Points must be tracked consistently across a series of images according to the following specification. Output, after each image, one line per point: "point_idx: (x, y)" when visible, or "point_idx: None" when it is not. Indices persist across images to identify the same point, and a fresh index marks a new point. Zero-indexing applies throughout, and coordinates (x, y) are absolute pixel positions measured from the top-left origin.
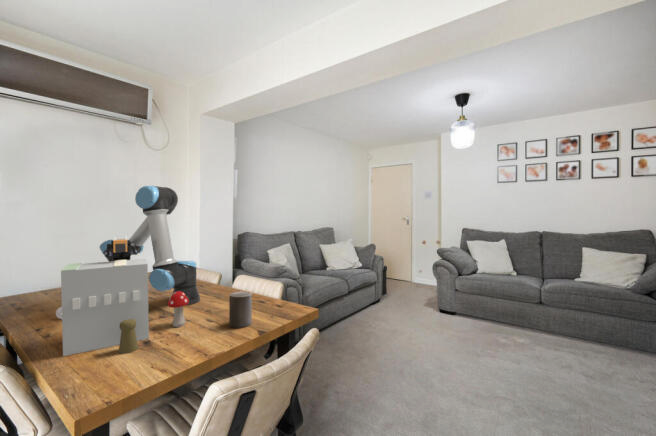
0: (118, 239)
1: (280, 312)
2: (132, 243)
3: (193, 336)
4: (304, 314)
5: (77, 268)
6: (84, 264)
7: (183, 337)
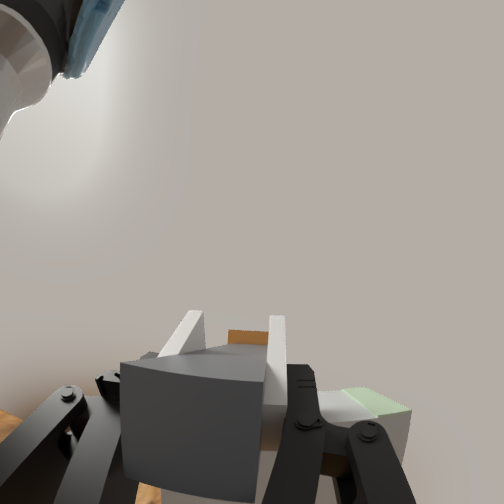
0: (234, 372)
1: (5, 430)
2: (89, 398)
3: (139, 486)
4: (11, 416)
5: (347, 395)
6: (359, 412)
7: (152, 493)
